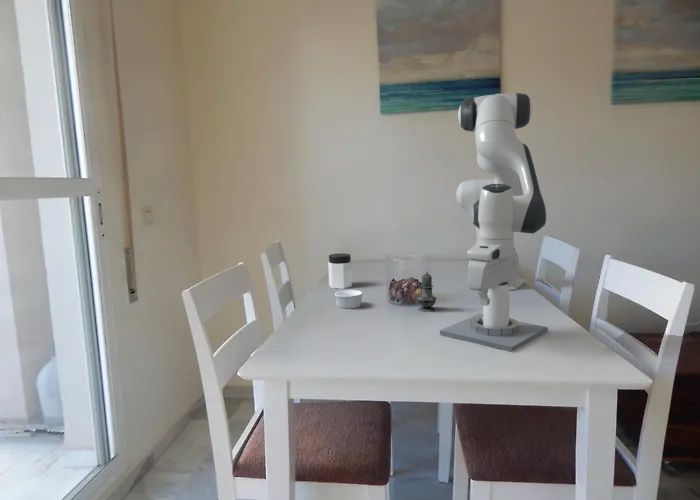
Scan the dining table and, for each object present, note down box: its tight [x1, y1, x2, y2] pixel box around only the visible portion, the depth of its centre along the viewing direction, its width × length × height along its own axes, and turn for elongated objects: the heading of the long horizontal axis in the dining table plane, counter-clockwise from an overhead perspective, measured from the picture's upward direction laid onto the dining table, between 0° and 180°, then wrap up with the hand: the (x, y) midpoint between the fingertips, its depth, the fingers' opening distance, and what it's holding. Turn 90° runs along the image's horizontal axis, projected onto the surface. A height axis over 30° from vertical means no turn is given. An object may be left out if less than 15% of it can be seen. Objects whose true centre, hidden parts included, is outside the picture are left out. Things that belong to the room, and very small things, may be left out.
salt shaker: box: [417, 271, 437, 313], centre depth 156 cm, size 6×6×12 cm
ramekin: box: [334, 289, 363, 310], centre depth 163 cm, size 9×9×4 cm
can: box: [482, 282, 510, 327], centre depth 132 cm, size 6×6×12 cm
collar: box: [470, 316, 519, 336], centre depth 132 cm, size 12×12×2 cm
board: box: [439, 313, 549, 353], centre depth 132 cm, size 20×20×1 cm
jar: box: [327, 253, 353, 290], centre depth 190 cm, size 9×8×12 cm
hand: (494, 301), depth 131 cm, fingers open, 8 cm apart
